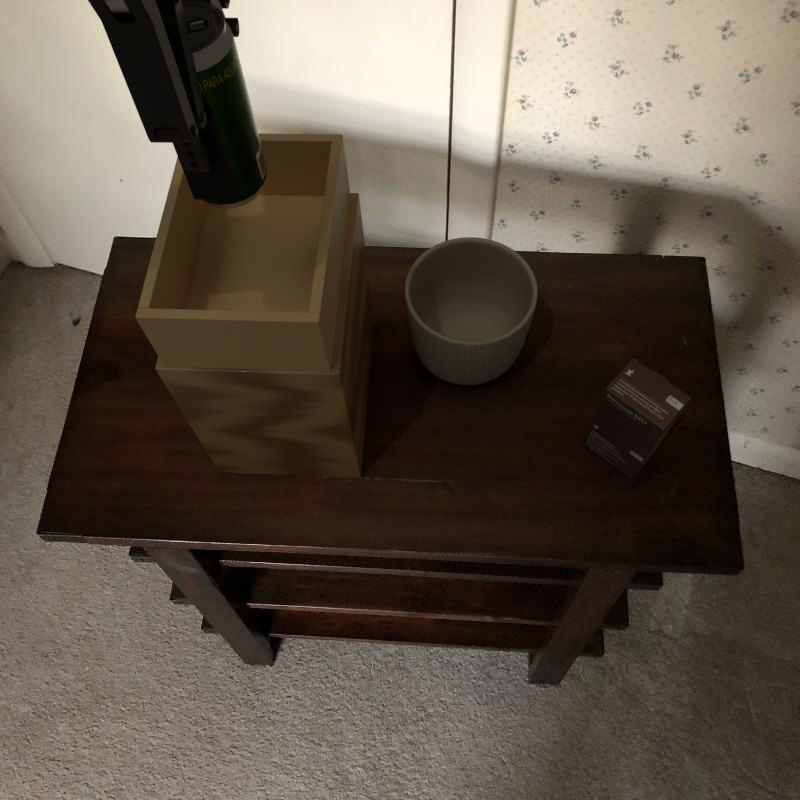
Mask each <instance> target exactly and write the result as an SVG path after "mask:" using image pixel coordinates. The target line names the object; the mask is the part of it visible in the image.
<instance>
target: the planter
mask: <svg viewBox="0 0 800 800" xmlns="http://www.w3.org/2000/svg"><path fill="white" fill-rule="evenodd" d="M538 290H539V289H538V283H537V279H536V275H535V274H534V271H533V270H532V268H531V266H530V264H529V263H528V262H527V261H526V260H525V258H524V257H522V256H521V254H519V253H518V252H517V251H515V250H514V249H512V248H511V247H509V246H508V245H506V244H504V243H501V242H499V241H496V240H492V239H489V238H485V237H478V236H477V237H473V236H464V237H456V238H451V239H447V240H445V241H442V242H439V243H437V244H435V245H433V246H432V247H430V248H428V249H427V250H425V251H424V252H423V253H422V254H420V255H419V256H418V258H416V260H415V261H414V262H413V264H412V265H411V267H410V269H409V271H408V273H407V275H406V279H405V284H404V301H405V310H406V319H407V323H408V329H409V333H410V337H411V338H410V339H411V342H412V345H413V348H414V352H415V354H416V355H417V357H418V359H419V361H420V362H421V364H422V365H423V366H424V367H425V368H426V369H427V370H428V371H429V373H431V374H433V375H434V376H436V377H437V378H438V379H440V380H441V381H444V382H447V383H449V384H454V385H460V386H477V385H482V384H486V383H489V382H491V381H494V380H495V379H497V378H499V377H501V376H503V374H504V373H506V372H507V371H508V370H509V369H510V368H511V367H512V366H513V365H514V363H515V362H516V360H517V358H518V357H519V355H520V353H521V351H522V349H523V346H524V344H525V342H526V339H527V337H528V333H529V330H530V329H531V325H532V321H533V319H534V315H535V311H536V308H537V302H538V295H539V293H538Z"/></svg>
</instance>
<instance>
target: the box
mask: <svg viewBox="0 0 800 800" xmlns="http://www.w3.org/2000/svg"><path fill="white" fill-rule="evenodd" d="M604 390H605V391H604V392H603V395H602V397H601V399H600V402H599V404H598V407H597V409H596V411H595V414H594V415H593V418H592V420H591V422H590V425H589V428H588V430H587V432H586V435H585V437H584V439H583V442H582V445H583V446H585V447H586V448H588V449H589V450H591V451H592V452H593V453H595V454H596V455H597V456H598V457H600V458H602V460H604V461H605V462H607V463H608V464H610V465H611V466H612V467H614V469H616V470H617V471H618V472H620V473H621V474H622V475H624V476H625V477H626V478H627V479H629V480H631V481H632V480H634V478H635V477H636V476H637V474H638V473H639V472H640V471H641V470H642V469H643V468H644V466H645V465H646V464H647V463H648V462H649V460H650V459H651V458H652V457H653V455H654V454H656V452H657V451H658V449H659V448H660V446H661V445H662V443H663V442H664V440H665V439H666V437H667V435H668V434H669V432H670V431H671V430H672V428H673V427H674V425H675V423H676V422H677V420H678V419H679V417H680V416H681V415H682V413H683V412H684V410H686V407H687V406H688V404H689V403H690V402H691V400H692V399H691V396H690V395H688V394H686V393H685V392H684V391H682V390H681V389H679V388H677V387H676V386H674V385H673V384H672V383H671V382H670V381H669V380H668V379H667V378H665V377H664V376H663V375H662V374H659V373H657V372H656V371H652V370H651V369H649V368H648V367H646V365H644V364H642V362H639V361H638V360H637V359H636V358H634V357H633V358H631V359H630V360H629V362H628V363H627V364H626V365H625V366H624V367H623V369H622V370H621V371H620V372H619V373H618V374H617V375H616V377H615V378H614V379H613V380H612V381H611V382H610V383H609V385H608V386H607V387H606V388H605V389H604Z"/></svg>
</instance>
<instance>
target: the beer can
mask: <svg viewBox="0 0 800 800" xmlns="http://www.w3.org/2000/svg"><path fill="white" fill-rule="evenodd" d="M181 2H182V7H183V12H184V16H185V21H186V26H187V30H188V35H189V40H190V45H191V49H192V54H193V59H194V63H195V68H196V73H197V78H198V82H199V87H200V92H201V96H202V101H203V106H204V111H212V113H213V116H214V119H215V123H216V126H217V129H218V132H219V135H220V138H221V142H222V145H223V148H224V151H225V154H226V158H227V161H228V164H229V167H230V170H231V174H232V177H233V180H234V183H235V186H236V190H237V194H236V199H235V200H205V199H201V200H202V201H203V202H205V203H206V204H208V205H210V206H212V207H215V208H221V209H231V208H237V207H240V206H243V205H246V204H248V203H249V202H251V201H252V200H254V199H255V198H256V197H257V196H258V195H259V194H260V193H261V191H262V189H263V186H264V184H265V180H266V177H267V166H266V162H265V158H264V154H263V150H262V146H261V142H260V138H259V134H258V133H259V131H258V128H257V127H258V126H257V123H256V119H255V115H254V112H253V111H254V110H253V107H252V104H251V99H250V95H249V91H248V87H247V83H246V80H245V76H244V72H243V68H242V64H241V61H240V56H239V52H238V49H237V45H236V41H235V37H234V36H233V33H232V31H231V29H230V27H229V25H228V24H227V23H226V22H225V18H224V16H223V14H222V12H221V10H219V9H218V8H217V7H216V6H214V5H213V4H211V3H208V2H205V1H203V0H181Z"/></svg>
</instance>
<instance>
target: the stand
mask: <svg viewBox="0 0 800 800" xmlns="http://www.w3.org/2000/svg"><path fill="white" fill-rule="evenodd" d="M360 200H361V199H360V193H359V192H350V202H349V211H348V220H347V228H346V237H345V246H344V255H343V264H342V272H341V281H340V290H339V299H338V308H337V317H336V325H335V334H334V343H333V352H332V361H331V369H330V372H320V371H287V370H253V369H220V368H187V367H164V365H163V362H162V361H161V360H160V358H159V356H158V355H157V360H156V364H155V369H154V370H155V371H156V373H157V375H158V376H159V378H160V379H161V381H162V383H163V384H164V386H165V387H166V389H167V391H168V392H169V394H170V395H171V397H172V398H173V400H174V402H175V404H176V405H177V406H178V408H179V410H180V411H181V413H182V415H183V416H184V418H185V419H186V421H187V423H188V425H189V426H190V427H191V429H192V431H193V432H194V434H195V436H196V437H197V439H198V440H199V442H200V444H201V446H202V447H203V448H204V450H205V452H206V454H207V455H208V457H209V458H210V460H211V462H212V464H213V465H214V467H215V468H216V470H217V471H218V472H219V473H224V474H246V475H248V474H249V475H252V474H253V475H276V476H299V477H301V476H303V477H326V478H327V477H329V478H330V477H331V478H354V479H356V478H357V479H361V478H362V470H363V469H362V468H363V456H364V447H365V446H364V444H365V435H366V434H365V433H366V420H367V410H368V400H369V399H368V398H369V389H370V387H369V386H370V377H371V376H370V374H371V365H372V364H371V362H372V351H373V341H374V340H373V339H374V329H375V328H374V327H375V321H374V312H373V303H372V296H371V287H370V278H369V269H368V262H367V253H366V245H365V235H364V227H363V226H364V225H363V218H362V208H361V201H360Z"/></svg>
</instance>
